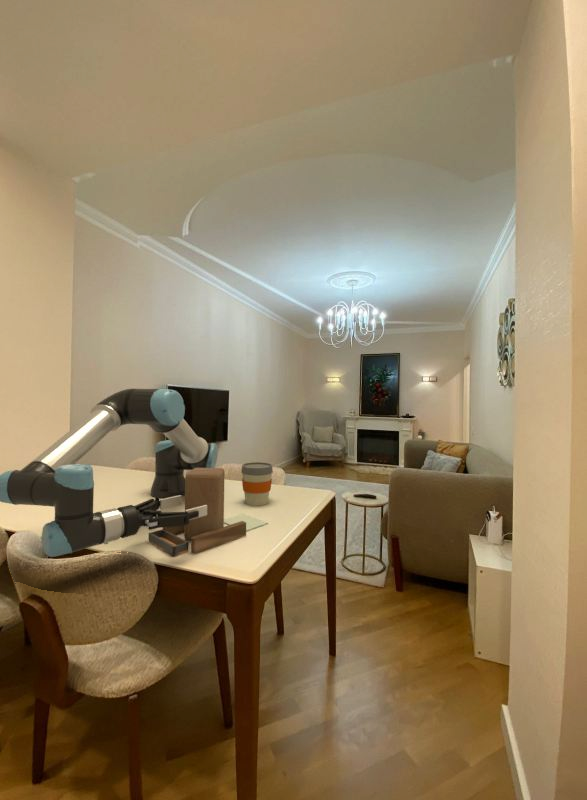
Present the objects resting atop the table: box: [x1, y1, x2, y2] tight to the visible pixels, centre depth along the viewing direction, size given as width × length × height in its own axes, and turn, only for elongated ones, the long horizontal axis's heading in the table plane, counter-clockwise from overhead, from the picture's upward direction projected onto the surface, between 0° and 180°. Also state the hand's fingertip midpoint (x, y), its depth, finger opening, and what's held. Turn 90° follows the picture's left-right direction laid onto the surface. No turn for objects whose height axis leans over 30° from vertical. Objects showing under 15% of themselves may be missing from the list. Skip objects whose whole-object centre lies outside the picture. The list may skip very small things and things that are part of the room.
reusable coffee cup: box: [240, 461, 274, 507], centre depth 143 cm, size 13×13×15 cm
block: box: [183, 467, 225, 542], centre depth 108 cm, size 10×10×20 cm
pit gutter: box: [148, 528, 190, 557], centre depth 100 cm, size 14×4×2 cm, turn 48°
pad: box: [224, 513, 269, 533], centre depth 120 cm, size 13×10×1 cm
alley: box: [162, 521, 247, 555], centre depth 108 cm, size 18×18×4 cm
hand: (193, 504), depth 104 cm, fingers open, 13 cm apart
